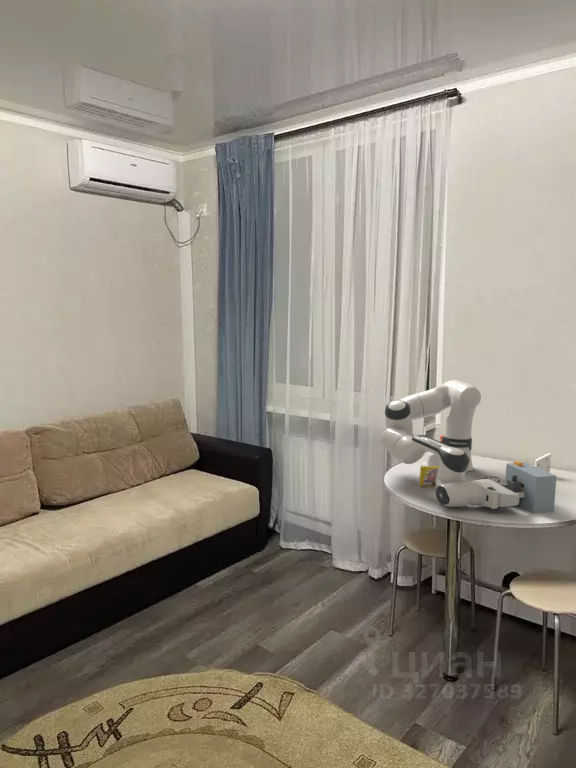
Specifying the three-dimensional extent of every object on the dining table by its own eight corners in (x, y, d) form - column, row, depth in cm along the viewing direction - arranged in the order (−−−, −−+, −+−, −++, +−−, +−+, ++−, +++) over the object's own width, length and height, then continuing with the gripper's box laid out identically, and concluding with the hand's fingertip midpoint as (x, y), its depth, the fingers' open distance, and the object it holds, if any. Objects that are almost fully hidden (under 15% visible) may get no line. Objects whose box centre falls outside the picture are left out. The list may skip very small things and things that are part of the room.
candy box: (420, 487, 235) (421, 467, 234) (419, 485, 237) (419, 465, 236) (460, 486, 236) (461, 466, 235) (458, 485, 238) (459, 465, 237)
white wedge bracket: (560, 471, 250) (551, 453, 250) (538, 482, 252) (529, 464, 251) (557, 469, 254) (548, 451, 253) (535, 479, 256) (526, 462, 255)
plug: (511, 506, 213) (513, 477, 211) (505, 503, 216) (507, 474, 215) (529, 505, 215) (531, 476, 213) (523, 502, 218) (525, 473, 217)
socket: (534, 512, 207) (536, 473, 205) (504, 496, 224) (506, 460, 222) (553, 511, 209) (556, 472, 207) (523, 495, 226) (525, 459, 224)
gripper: (465, 492, 222) (498, 489, 225) (496, 510, 202) (531, 508, 205) (466, 476, 221) (499, 474, 224) (497, 493, 201) (533, 490, 204)
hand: (515, 490), depth 214 cm, fingers open, 8 cm apart
